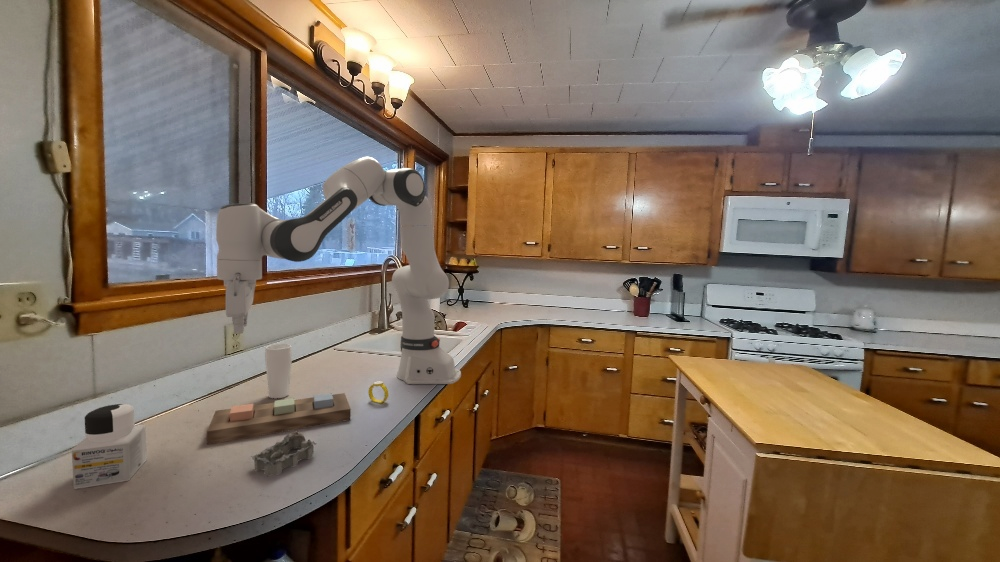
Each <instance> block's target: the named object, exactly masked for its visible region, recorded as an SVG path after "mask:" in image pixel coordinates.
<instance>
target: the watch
mask: <svg viewBox="0 0 1000 562" xmlns="http://www.w3.org/2000/svg"><path fill="white" fill-rule="evenodd" d="M374 387H380V388H382V390H383V392H384V397H383V400H381V399H377V398H376V397H374V394H373V388H374ZM368 397H369V400H371V402H372V403H376V404H377V403H378V404H383V403H384V402H386V401H387V400H388V398H389V390H388V388H387V386H386V385H385V384H384V381H382V380H377V381H374V382H373V384H371V385H370V387H369V389H368Z"/></svg>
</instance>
